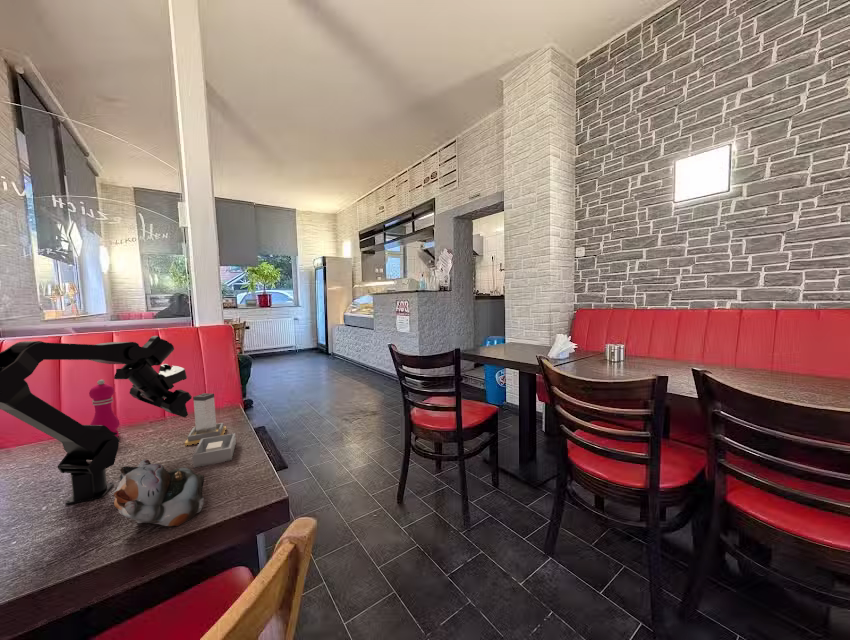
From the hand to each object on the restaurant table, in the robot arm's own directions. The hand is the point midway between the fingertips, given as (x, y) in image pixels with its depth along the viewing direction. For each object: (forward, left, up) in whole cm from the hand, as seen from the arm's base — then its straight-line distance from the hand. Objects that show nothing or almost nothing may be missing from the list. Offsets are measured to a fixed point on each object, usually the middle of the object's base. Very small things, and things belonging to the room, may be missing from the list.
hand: (176, 411), depth 103 cm
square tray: (+6, -6, -11) cm, 14 cm away
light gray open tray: (-11, -11, -11) cm, 20 cm away
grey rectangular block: (+6, -6, -10) cm, 13 cm away
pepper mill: (+21, +25, -12) cm, 34 cm away
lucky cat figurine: (-39, -6, -12) cm, 41 cm away
